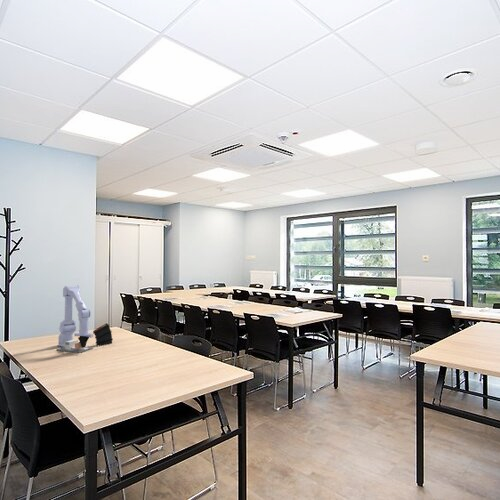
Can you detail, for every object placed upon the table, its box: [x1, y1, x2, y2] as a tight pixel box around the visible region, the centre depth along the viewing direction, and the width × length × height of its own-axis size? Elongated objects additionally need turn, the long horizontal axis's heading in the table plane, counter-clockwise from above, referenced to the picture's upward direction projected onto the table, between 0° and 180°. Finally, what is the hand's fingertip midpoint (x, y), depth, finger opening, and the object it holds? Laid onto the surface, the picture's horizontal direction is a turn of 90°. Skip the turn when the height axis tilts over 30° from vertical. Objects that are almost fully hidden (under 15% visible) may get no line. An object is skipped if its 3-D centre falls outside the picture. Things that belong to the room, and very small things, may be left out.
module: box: [65, 339, 79, 350], centre depth 246 cm, size 4×7×5 cm, turn 161°
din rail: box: [56, 345, 94, 354], centre depth 245 cm, size 20×12×3 cm, turn 71°
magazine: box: [92, 323, 114, 346], centre depth 263 cm, size 4×13×15 cm, turn 133°
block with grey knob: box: [75, 341, 82, 349], centre depth 244 cm, size 3×6×4 cm, turn 161°
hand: (83, 347), depth 243 cm, fingers closed
